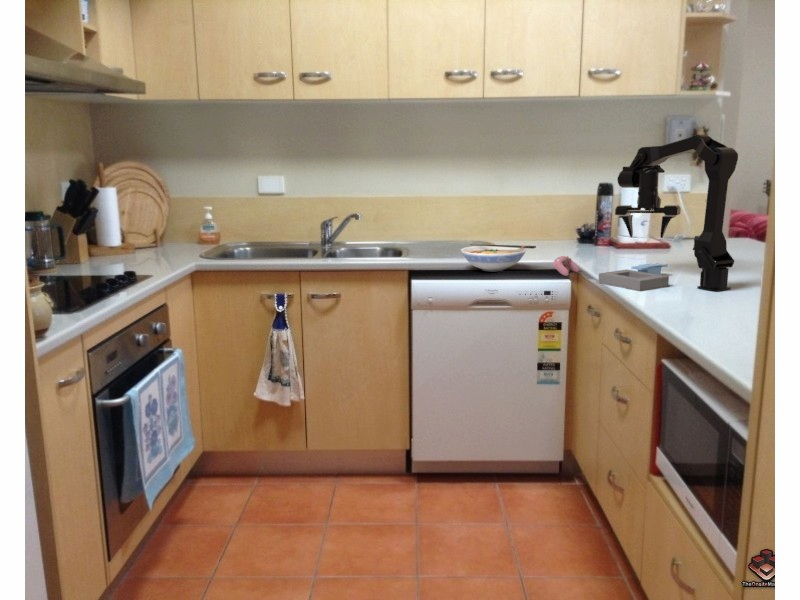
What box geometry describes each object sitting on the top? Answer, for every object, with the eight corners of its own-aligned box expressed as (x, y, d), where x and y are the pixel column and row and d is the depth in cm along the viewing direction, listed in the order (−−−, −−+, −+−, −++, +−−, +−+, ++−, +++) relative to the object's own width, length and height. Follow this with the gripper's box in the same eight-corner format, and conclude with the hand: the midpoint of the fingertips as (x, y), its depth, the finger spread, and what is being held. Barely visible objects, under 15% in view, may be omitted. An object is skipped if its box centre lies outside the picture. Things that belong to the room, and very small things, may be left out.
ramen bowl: (446, 272, 230) (445, 249, 229) (476, 263, 249) (476, 241, 247) (512, 278, 217) (512, 253, 215) (539, 267, 235) (539, 244, 234)
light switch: (668, 286, 196) (668, 276, 196) (639, 291, 191) (640, 280, 190) (626, 278, 210) (626, 269, 210) (598, 282, 205) (598, 273, 204)
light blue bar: (666, 276, 213) (667, 264, 213) (640, 280, 208) (641, 267, 207) (656, 274, 217) (657, 262, 216) (630, 278, 211) (631, 266, 210)
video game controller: (569, 275, 227) (561, 256, 228) (581, 270, 224) (573, 251, 225) (556, 280, 220) (548, 260, 220) (568, 275, 217) (560, 255, 217)
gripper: (684, 186, 209) (682, 235, 212) (624, 187, 219) (623, 234, 222) (678, 187, 200) (675, 239, 203) (615, 188, 210) (613, 238, 213)
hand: (646, 237), depth 211 cm, fingers open, 9 cm apart
